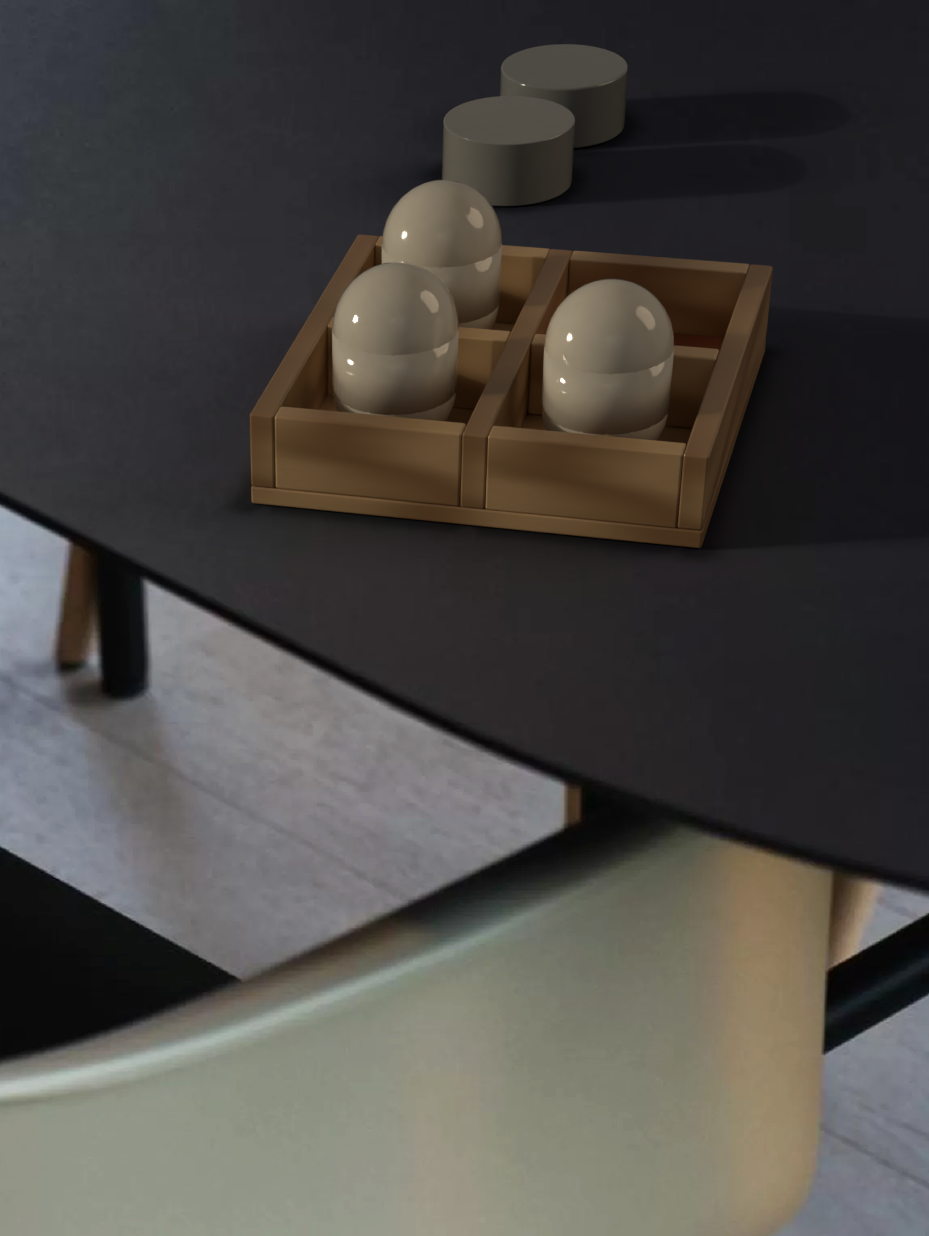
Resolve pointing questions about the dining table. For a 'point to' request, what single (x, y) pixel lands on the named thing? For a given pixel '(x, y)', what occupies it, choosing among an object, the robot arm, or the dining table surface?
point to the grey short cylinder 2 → (573, 86)
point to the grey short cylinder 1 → (510, 148)
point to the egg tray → (524, 412)
